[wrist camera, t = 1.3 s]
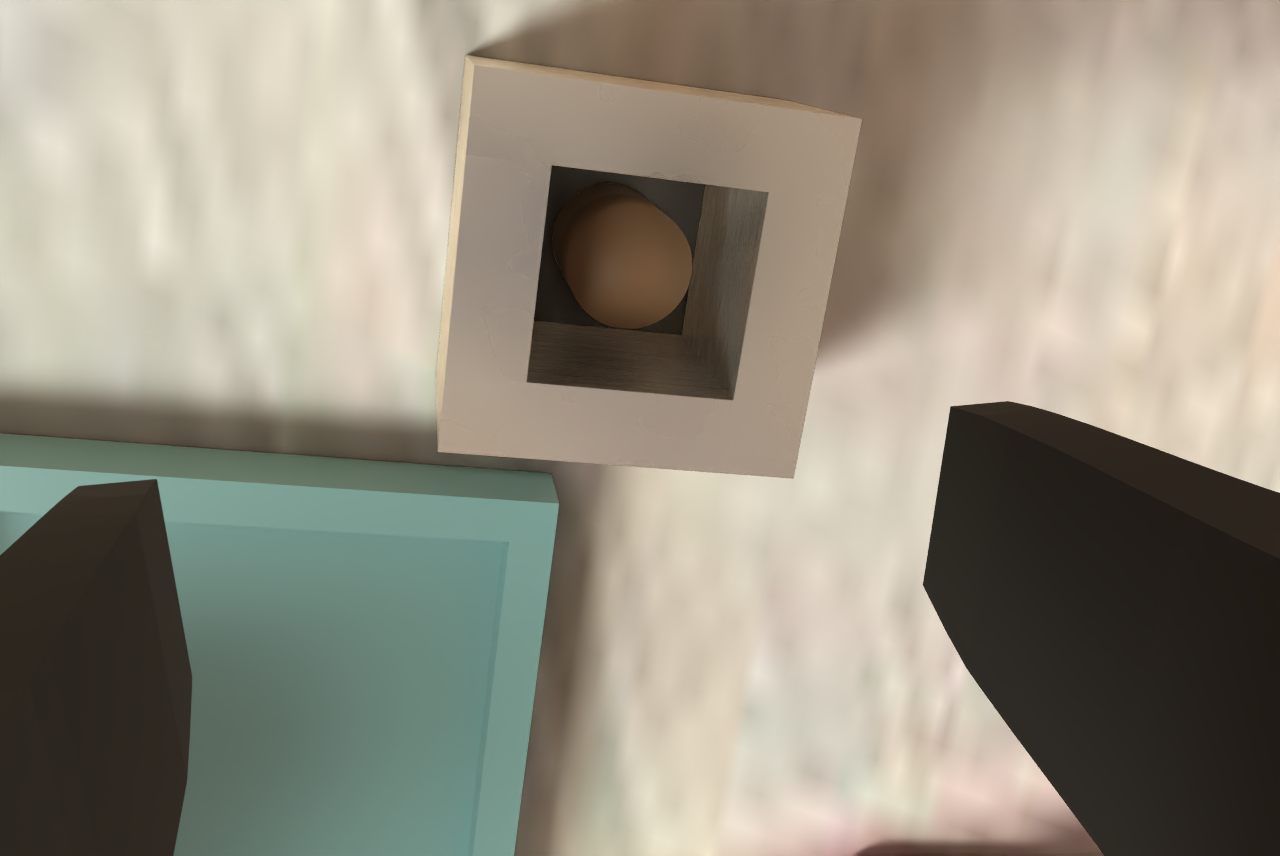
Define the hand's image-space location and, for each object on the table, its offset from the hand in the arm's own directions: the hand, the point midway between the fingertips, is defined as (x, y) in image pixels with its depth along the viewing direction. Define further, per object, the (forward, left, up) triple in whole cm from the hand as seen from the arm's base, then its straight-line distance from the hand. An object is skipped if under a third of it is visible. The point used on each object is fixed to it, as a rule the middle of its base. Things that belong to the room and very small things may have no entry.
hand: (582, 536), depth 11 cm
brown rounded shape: (-2, -1, -11) cm, 11 cm away
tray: (+4, +9, -11) cm, 15 cm away
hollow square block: (-2, -1, -11) cm, 11 cm away
